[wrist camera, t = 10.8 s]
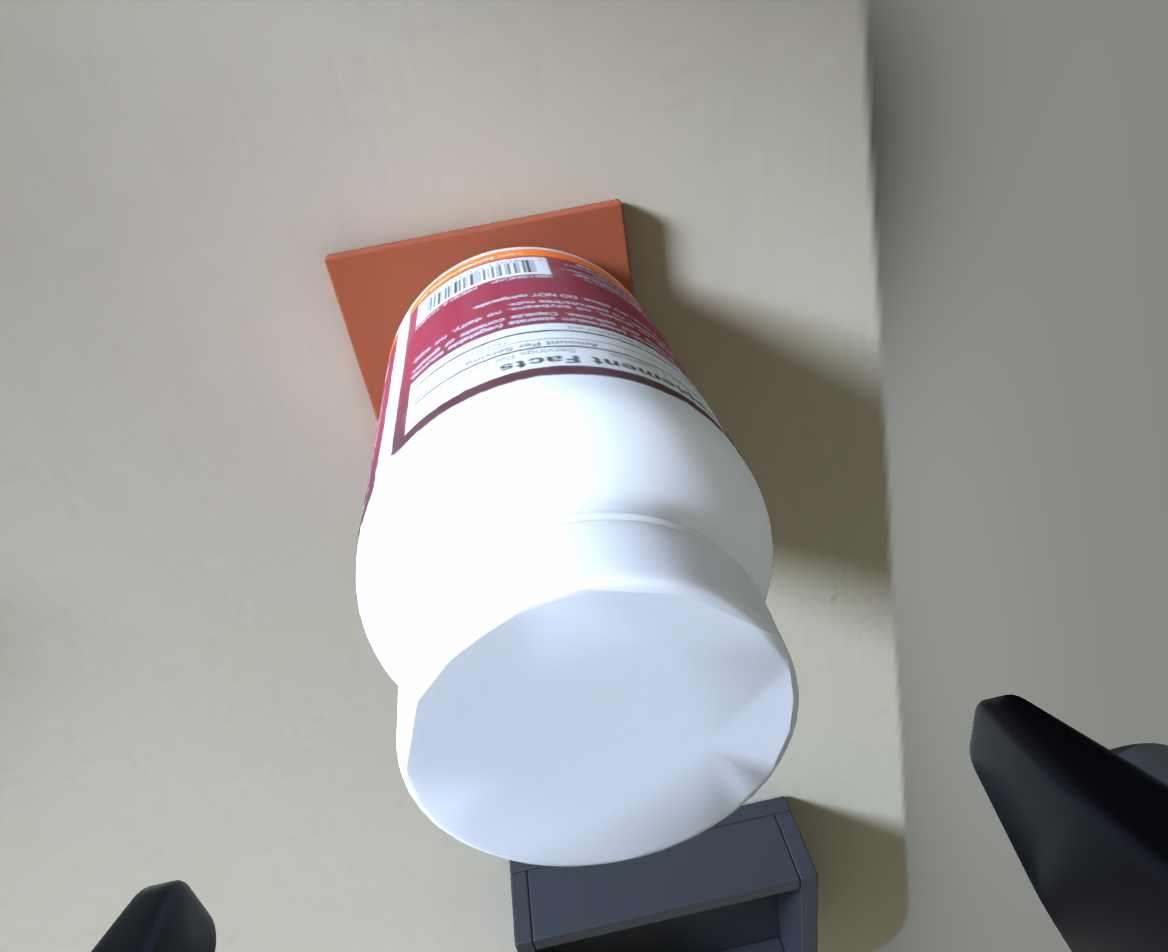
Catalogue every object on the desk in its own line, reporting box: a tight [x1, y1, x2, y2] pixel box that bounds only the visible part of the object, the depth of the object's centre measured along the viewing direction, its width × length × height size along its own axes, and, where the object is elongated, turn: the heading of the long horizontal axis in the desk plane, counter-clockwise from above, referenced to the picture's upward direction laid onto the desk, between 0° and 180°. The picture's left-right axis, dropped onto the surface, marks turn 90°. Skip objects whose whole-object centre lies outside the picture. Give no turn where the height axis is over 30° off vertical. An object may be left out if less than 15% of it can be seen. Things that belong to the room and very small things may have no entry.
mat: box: [325, 199, 634, 421], centre depth 18 cm, size 6×6×1 cm
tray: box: [510, 797, 818, 952], centre depth 29 cm, size 10×9×3 cm
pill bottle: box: [356, 247, 799, 866], centre depth 14 cm, size 6×6×11 cm
